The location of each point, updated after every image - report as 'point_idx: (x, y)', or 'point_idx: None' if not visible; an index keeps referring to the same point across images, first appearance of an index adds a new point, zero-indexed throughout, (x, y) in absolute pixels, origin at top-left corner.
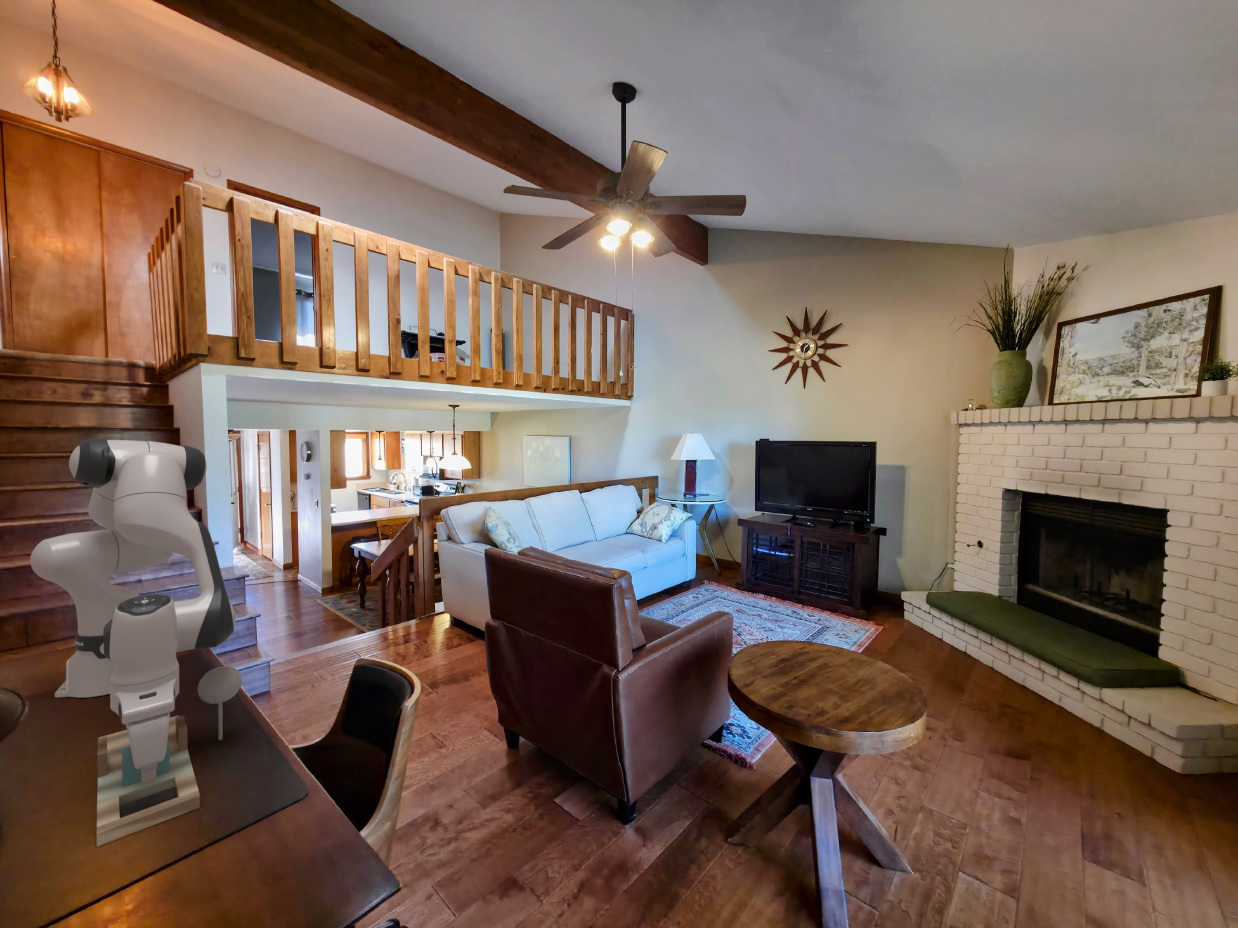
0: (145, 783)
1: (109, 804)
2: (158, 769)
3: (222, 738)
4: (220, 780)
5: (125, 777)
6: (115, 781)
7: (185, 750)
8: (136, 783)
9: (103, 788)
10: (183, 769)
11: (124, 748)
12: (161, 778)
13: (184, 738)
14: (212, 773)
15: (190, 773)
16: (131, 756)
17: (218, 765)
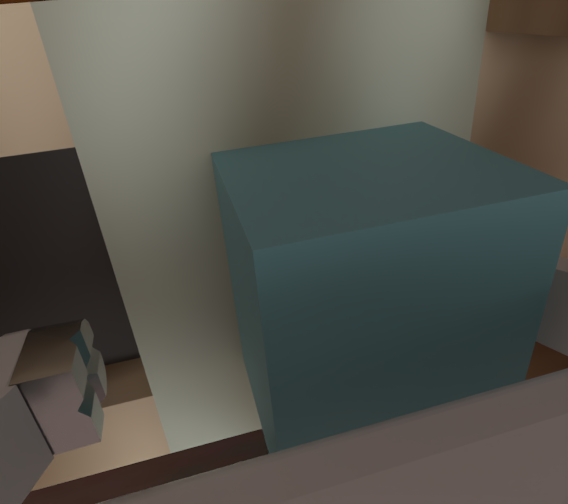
0: (171, 274)
1: None
2: (244, 343)
3: None
4: (107, 487)
5: (224, 192)
6: (337, 95)
7: None
8: (210, 224)
9: (284, 25)
10: (219, 411)
11: (563, 209)
12: (182, 339)
13: None
14: (196, 449)
15: (148, 447)
16: (313, 308)
17: (255, 453)
